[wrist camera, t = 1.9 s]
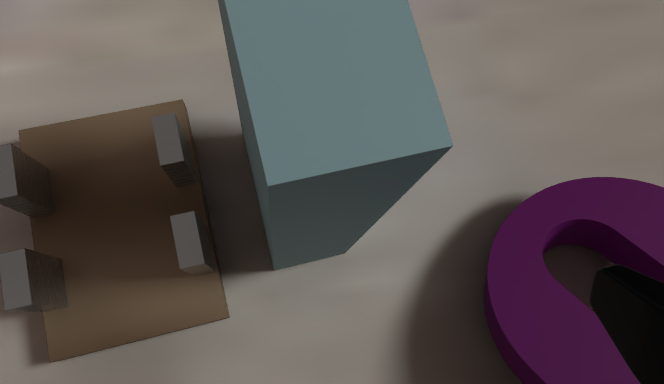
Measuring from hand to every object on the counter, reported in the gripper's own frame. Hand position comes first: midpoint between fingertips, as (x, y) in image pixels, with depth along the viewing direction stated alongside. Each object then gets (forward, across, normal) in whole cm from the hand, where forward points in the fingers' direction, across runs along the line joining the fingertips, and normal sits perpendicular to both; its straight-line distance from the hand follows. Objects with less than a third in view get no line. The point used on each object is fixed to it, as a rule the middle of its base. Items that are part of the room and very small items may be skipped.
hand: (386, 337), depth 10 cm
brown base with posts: (+12, +7, +4) cm, 15 cm away
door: (+12, 0, +4) cm, 13 cm away
